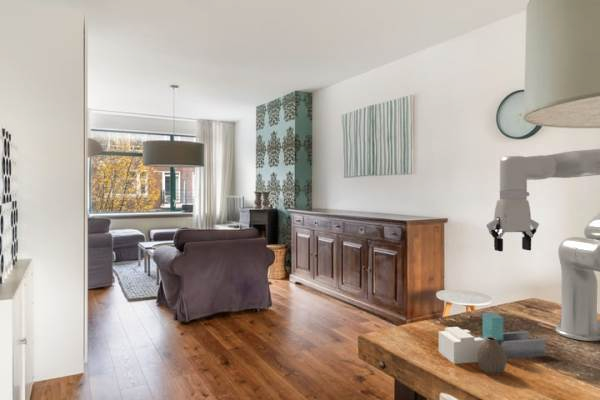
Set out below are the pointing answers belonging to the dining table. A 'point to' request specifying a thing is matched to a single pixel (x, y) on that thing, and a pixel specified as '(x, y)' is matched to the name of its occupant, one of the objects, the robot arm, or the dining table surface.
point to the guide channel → (522, 345)
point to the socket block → (459, 345)
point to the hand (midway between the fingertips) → (512, 250)
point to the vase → (491, 357)
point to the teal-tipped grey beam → (492, 326)
